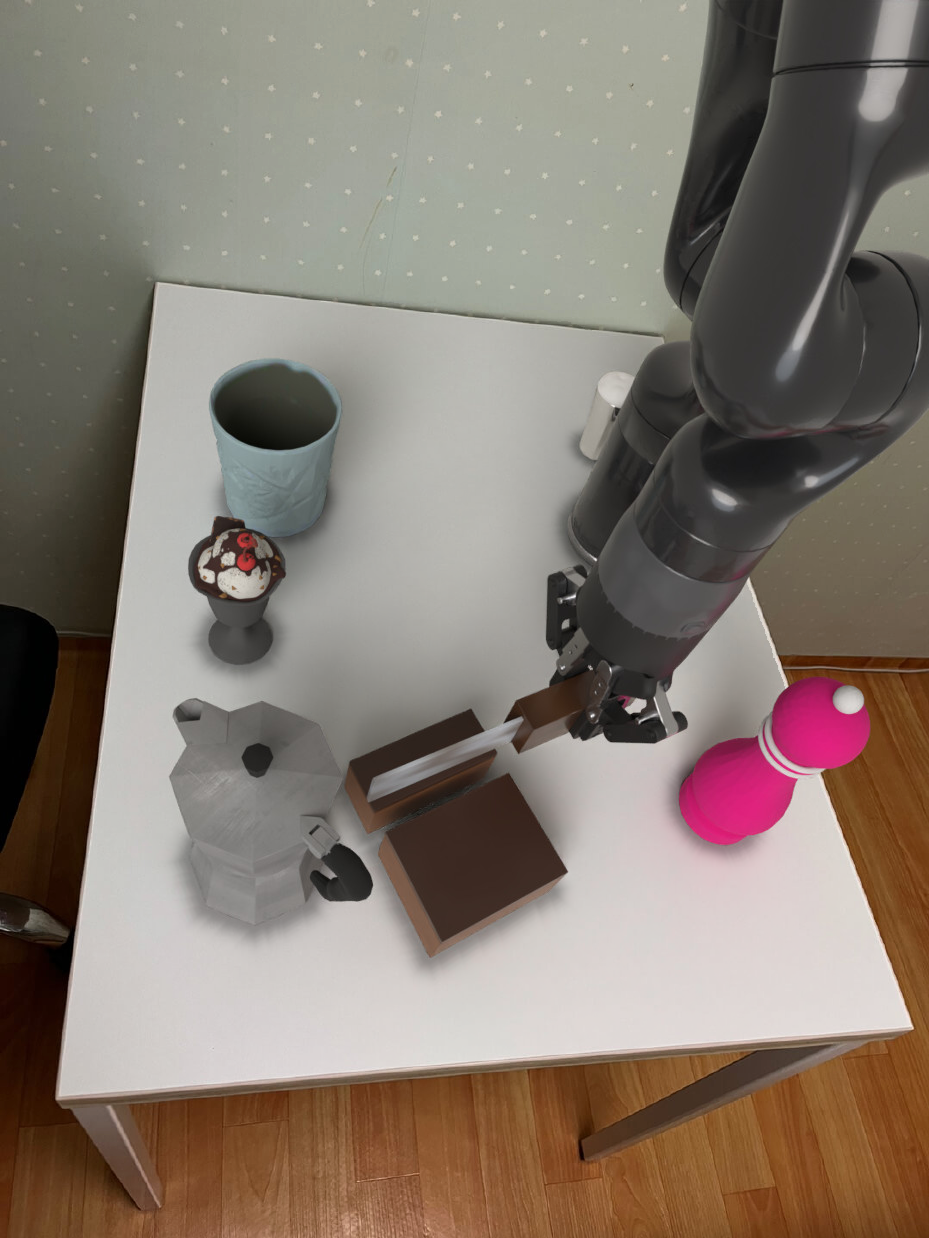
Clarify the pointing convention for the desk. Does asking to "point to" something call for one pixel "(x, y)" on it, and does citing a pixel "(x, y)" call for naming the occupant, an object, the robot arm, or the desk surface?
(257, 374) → the blue ceramic cup
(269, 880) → the coffeepot
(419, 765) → the knife
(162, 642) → the desk surface
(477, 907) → the cake
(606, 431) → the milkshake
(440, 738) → the cake slice
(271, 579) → the sundae
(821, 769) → the pepper mill
